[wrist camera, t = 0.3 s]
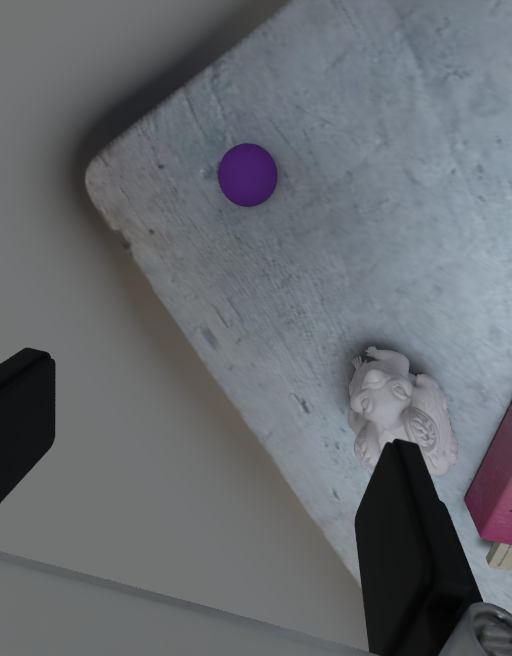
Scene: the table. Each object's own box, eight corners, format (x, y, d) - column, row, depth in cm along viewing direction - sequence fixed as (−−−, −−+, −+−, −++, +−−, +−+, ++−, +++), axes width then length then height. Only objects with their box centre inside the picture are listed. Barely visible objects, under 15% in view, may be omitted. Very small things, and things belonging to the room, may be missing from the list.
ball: (230, 138, 31) (217, 135, 27) (285, 151, 31) (281, 150, 27) (220, 196, 33) (207, 202, 29) (272, 208, 33) (267, 216, 29)
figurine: (391, 308, 35) (429, 383, 23) (473, 431, 38) (540, 549, 27) (312, 354, 38) (311, 442, 26) (395, 465, 41) (427, 586, 30)
